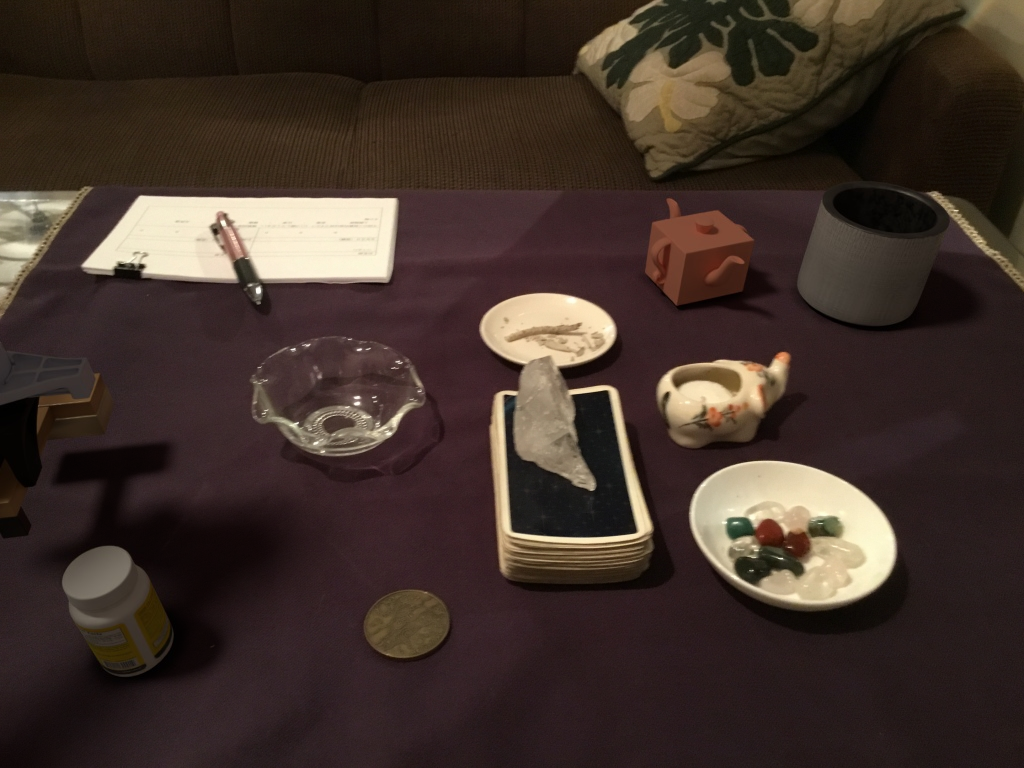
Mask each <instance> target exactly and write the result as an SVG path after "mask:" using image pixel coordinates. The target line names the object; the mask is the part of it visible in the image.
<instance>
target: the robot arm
mask: <svg viewBox="0 0 1024 768" xmlns="http://www.w3.org/2000/svg"><path fill="white" fill-rule="evenodd" d="M1 341H2V340H0V468H1V465H2V463H3V461H4V459H5V460H6V461H7V463H8V465H9V466H10V468H11V470H12V472H13V474H14V475H15V477H16V479H17V480H18V481H19V482H20V483H21V484H22V485H23V486H24V487H25V488H26V487H28V488H34V487H35V486H36V485H37V483H38V480H39V477H40V475H41V472H42V470H43V464H42V459H41V457H40V455H39V449H38V440H37V414H38V406H39V399H40V397H42V396H53V395H63V394H71V396H72V398H73V399H85V398H89V397H90V395H91V392H92V390H93V387H94V383H95V381H96V378H95V376H94V374H95V373H94V371H93V368H92V367H91V364H90V362H89V359H88V357H86V356H83V357H61V356H50V355H43V354H34V353H27V352H20V351H19V352H18V351H12V350H5V347H4V345H3V343H2V342H1Z"/></svg>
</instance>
